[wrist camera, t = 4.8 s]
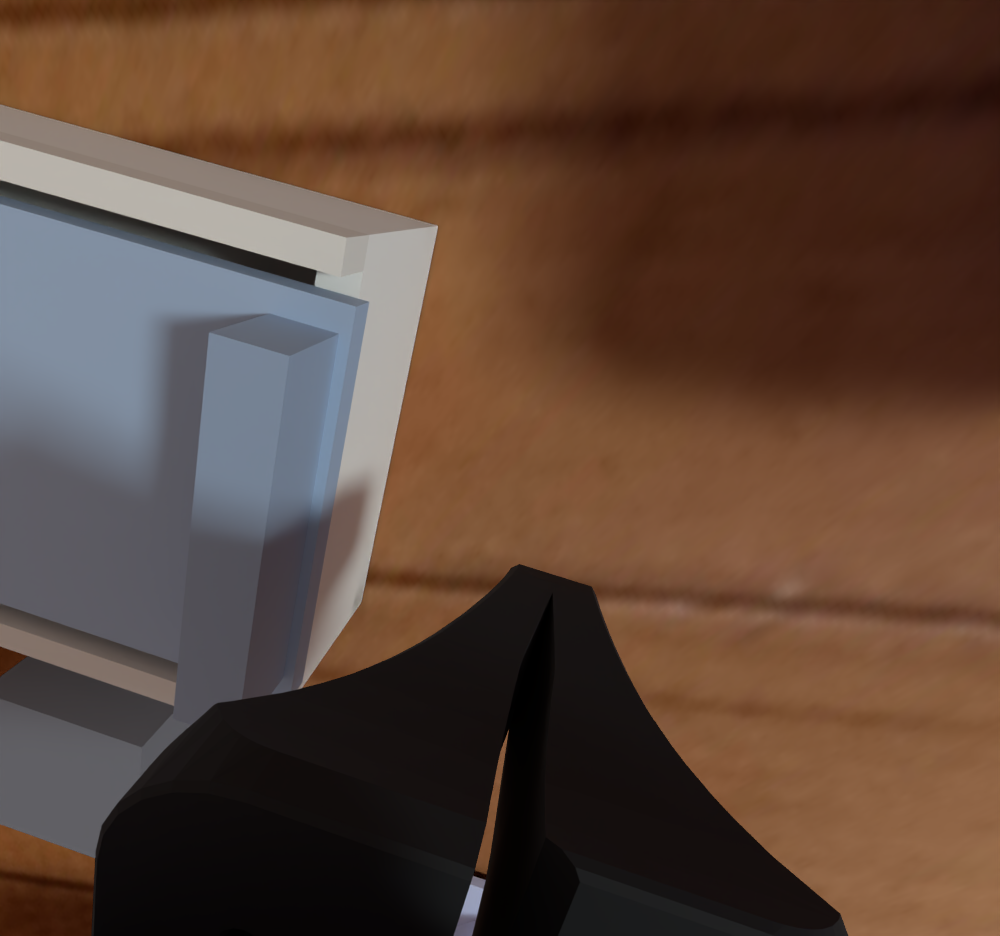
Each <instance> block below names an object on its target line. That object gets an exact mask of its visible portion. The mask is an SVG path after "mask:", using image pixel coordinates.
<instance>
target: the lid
mask: <svg viewBox="0 0 1000 936" xmlns="http://www.w3.org/2000/svg"><path fill="white" fill-rule="evenodd" d="M368 307H369V302H368V301H365V300H361V299H358V298H354V297H351V296H347V295H344V294H341V293H337V292H334V291H330V290H327V289H323V288H320V287H316V286H313V285H309V284H306V283H302V282H299V281H295V280H292V279H288V278H285V277H281V276H278V275H274V274H271V273H268V272H264V271H261V270H257V269H254V268H250V267H247V266H243V265H240V264H236V263H233V262H229V261H226V260H222V259H219V258H215V257H212V256H208V255H205V254H202V253H198V252H195V251H191V250H188V249H184V248H181V247H177V246H174V245H170V244H167V243H163V242H160V241H156V240H153V239H149V238H146V237H142V236H139V235H135V234H132V233H129V232H125V231H122V230H118V229H115V228H111V227H108V226H104V225H101V224H97V223H94V222H90V221H87V220H83V219H80V218H76V217H73V216H69V215H66V214H62V213H59V212H56V211H52V210H49V209H45V208H42V207H38V206H35V205H31V204H28V203H24V202H21V201H17V200H14V199H10V198H7V197H3V196H0V604H3V605H6V606H9V607H12V608H15V609H18V610H21V611H24V612H27V613H30V614H33V615H36V616H39V617H42V618H45V619H48V620H51V621H54V622H57V623H60V624H63V625H66V626H68V627H71V628H74V629H77V630H80V631H83V632H86V633H89V634H92V635H95V636H98V637H101V638H104V639H107V640H110V641H113V642H116V643H119V644H122V645H125V646H128V647H131V648H134V649H137V650H140V651H143V652H146V653H149V654H152V655H155V656H158V657H161V658H164V659H167V660H170V661H173V662H175V663H178V668H177V679H176V690H175V700H174V711H173V719H175V720H178V721H181V722H184V723H187V724H190V725H192V724H193V723H194V722H195V721H196V720H198V719H199V718H200V717H201V716H202V715H203V714H204V713H205V712H206V711H208V710H209V709H210V708H211V707H212V706H213V705H214V704H216V703H220V702H228V701H235V700H241V699H247V698H253V697H259V696H266V695H272V694H278V693H283V692H288V691H292V690H297V689H298V688H299V686H300V685H301V684H302V681H303V676H304V670H305V664H306V659H307V653H308V647H309V642H310V636H311V630H312V625H313V619H314V613H315V608H316V602H317V596H318V591H319V585H320V579H321V573H322V568H323V562H324V556H325V551H326V545H327V539H328V534H329V528H330V522H331V517H332V511H333V505H334V500H335V494H336V488H337V483H338V477H339V471H340V466H341V460H342V454H343V449H344V443H345V437H346V432H347V426H348V420H349V415H350V409H351V403H352V397H353V392H354V386H355V380H356V375H357V369H358V363H359V358H360V352H361V346H362V341H363V335H364V329H365V324H366V318H367V312H368Z"/></svg>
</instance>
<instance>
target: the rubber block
mask: <svg viewBox="0 0 1000 936" xmlns="http://www.w3.org/2000/svg"><path fill="white" fill-rule="evenodd" d="M173 711H174V706H173V705H170V704H167V703H164V702H161V701H158V700H155V699H152V698H150V697H147V696H144V695H141V694H138V693H135V692H132V691H129V690H126V689H123V688H120V687H117V686H114V685H111V684H109V683H106V682H103V681H100V680H97V679H94V678H91V677H88V676H85V675H82V674H79V673H76V672H73V671H70V670H68V669H65V668H62V667H59V666H56V665H53V664H50V663H47V662H44V661H41V660H38V659H35V658H32V657H30V656H27V657H26V658H25V659H23V660H22V661H21V662H19V663H18V664H17V665H15V666H14V667H13V668H11V669H10V670H9V671H7V672H6V673H5V674H3V675H2V676H1V677H0V824H1V825H4V826H7V827H10V828H12V829H15V830H18V831H21V832H24V833H26V834H29V835H32V836H35V837H38V838H40V839H43V840H46V841H49V842H51V843H54V844H57V845H60V846H63V847H65V848H68V849H71V850H74V851H76V852H79V853H82V854H85V855H88V856H90V857H93V858H95V853H96V847H97V843H98V839H99V834H100V830H101V826H102V824H103V823H104V821H105V820H106V818H107V817H108V816H109V814H110V813H111V811H112V810H113V809H114V807H115V806H116V804H117V803H118V802H119V801H120V800H121V799H122V797H123V796H124V795H125V794H126V793H127V792H128V790H129V789H130V788H131V787H132V786H133V785H134V783H135V782H136V781H137V780H138V779H139V778H140V776H141V775H142V774H143V773H144V772H145V771H146V770H147V768H148V767H149V766H150V765H151V764H152V763H153V762H154V760H155V759H156V758H157V757H158V756H159V755H160V754H161V753H162V752H163V751H164V750H165V749H166V748H167V747H168V746H169V745H170V744H171V743H172V742H173V741H174V740H175V739H176V738H177V737H178V736H179V735H181V734H182V733H183V732H184V731H185V730H186V729H187V728H188V727H190V726H191V725H190V724H187V723H184V722H181V721H178V720H175V719H173Z"/></svg>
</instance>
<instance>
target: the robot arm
mask: <svg viewBox="0 0 1000 936" xmlns="http://www.w3.org/2000/svg"><path fill="white" fill-rule="evenodd" d="M508 730H509V733H508V740H507V746H506V753H505V760H504V766H503V773H502V780H501V787H500V794H499V800H498V807H497V814H496V821H495V828H494V835H493V841H492V848H491V854H490V860H489V865H488V870H487V875H486V880H484V879H481V878H478V877H475V876H473V874H474V871H475V867H476V863H477V859H478V855H479V851H480V847H481V843H482V839H483V835H484V831H485V827H486V823H487V817H488V811H489V805H490V800H491V795H492V790H493V785H494V779H495V774H496V769H497V764H498V760H499V755H500V751H501V748H502V746H503V743H504V740H505V738H506V735H507V732H508ZM92 936H848V934H847V931H846V928H845V926H844V923H843V920H842V917H841V915H840V913H839V912H838V911H836V910H835V909H834V908H833V907H832V906H830V905H829V904H828V903H827V902H826V901H825V900H823V899H822V898H821V897H820V896H819V895H817V894H816V893H815V892H814V891H813V890H812V889H810V888H809V887H808V886H807V885H806V884H804V883H803V882H802V881H801V880H800V879H799V878H797V877H796V876H795V875H794V874H793V873H791V872H790V871H789V870H788V869H787V868H786V867H784V866H783V865H782V864H781V863H780V862H778V861H777V860H776V859H775V858H774V857H773V856H772V855H771V854H770V853H768V852H767V851H766V850H765V849H764V848H763V847H762V846H761V845H760V844H759V843H758V842H757V841H756V840H755V839H754V838H753V837H752V836H751V835H750V834H749V833H748V832H747V831H746V830H745V829H744V828H743V827H742V826H741V825H740V824H739V823H738V822H737V821H736V820H735V819H734V818H733V817H732V816H731V815H730V814H729V813H728V812H727V811H726V810H725V809H724V808H723V807H722V805H721V804H720V803H719V802H718V801H717V800H716V799H715V798H714V797H713V796H712V795H711V793H710V792H709V791H708V790H707V789H706V788H705V786H704V785H703V784H702V783H701V782H700V780H699V779H698V778H697V777H696V776H695V775H694V773H693V772H692V771H691V770H690V769H689V767H688V766H687V765H686V764H685V762H684V761H683V760H682V759H681V757H680V756H679V755H678V753H677V752H676V751H675V750H674V748H673V747H672V745H671V744H670V743H669V741H668V740H667V738H666V737H665V735H664V734H663V732H662V731H661V730H660V728H659V727H658V725H657V724H656V722H655V721H654V720H653V718H652V717H651V715H650V713H649V712H648V710H647V709H646V707H645V705H644V704H643V702H642V700H641V698H640V696H639V695H638V693H637V691H636V689H635V687H634V686H633V684H632V682H631V680H630V678H629V676H628V674H627V672H626V670H625V668H624V665H623V663H622V661H621V659H620V657H619V654H618V652H617V650H616V648H615V646H614V643H613V641H612V639H611V636H610V634H609V631H608V629H607V626H606V623H605V621H604V618H603V615H602V613H601V610H600V607H599V604H598V601H597V597H596V594H595V592H594V591H593V589H592V587H591V586H588V585H585V584H581V583H578V582H575V581H572V580H569V579H565V578H562V577H559V576H556V575H553V574H549V573H546V572H543V571H540V570H537V569H533V568H530V567H527V566H524V565H521V564H519V565H517V566H514V567H512V568H511V569H510V570H509V572H508V573H507V574H506V576H505V577H504V578H503V579H502V580H501V581H500V582H499V583H498V584H497V585H496V586H495V587H494V588H493V589H492V590H491V591H490V592H489V593H488V594H487V595H486V596H484V597H483V598H482V599H481V600H480V601H478V602H477V603H476V604H475V605H473V606H472V607H471V608H470V609H469V610H467V611H466V612H465V613H464V614H462V615H461V616H460V617H458V618H457V619H455V620H454V621H452V622H451V623H449V624H448V625H447V626H445V627H444V628H442V629H441V630H439V631H438V632H436V633H435V634H433V635H432V636H430V637H428V638H427V639H425V640H423V641H422V642H420V643H418V644H416V645H415V646H413V647H411V648H409V649H407V650H405V651H403V652H401V653H400V654H398V655H396V656H394V657H392V658H389V659H387V660H385V661H382V662H380V663H378V664H376V665H373V666H371V667H368V668H366V669H363V670H361V671H358V672H356V673H353V674H350V675H347V676H344V677H341V678H338V679H334V680H331V681H328V682H324V683H321V684H317V685H313V686H309V687H305V688H301V689H297V690H292V691H288V692H283V693H278V694H272V695H266V696H259V697H253V698H247V699H241V700H235V701H228V702H220V703H216V704H214V705H213V706H212V707H211V708H210V709H209V710H208V711H206V712H205V713H204V714H203V715H202V716H201V717H200V718H199V719H198V720H196V721H195V722H194V723H193V724H192V725H191V726H190V727H188V728H187V729H186V730H185V731H184V732H183V733H182V734H181V735H179V736H178V737H177V738H176V739H175V740H174V741H173V742H172V743H171V744H170V745H169V746H168V747H167V748H166V749H165V750H164V751H163V752H162V753H161V754H160V755H159V756H158V757H157V758H156V759H155V760H154V762H153V763H152V764H151V765H150V766H149V767H148V768H147V770H146V771H145V772H144V773H143V774H142V775H141V776H140V778H139V779H138V780H137V781H136V782H135V783H134V785H133V786H132V787H131V788H130V789H129V790H128V792H127V793H126V794H125V795H124V796H123V797H122V799H121V800H120V801H119V802H118V803H117V804H116V806H115V807H114V809H113V810H112V811H111V813H110V814H109V816H108V817H107V818H106V820H105V821H104V823H103V824H102V826H101V830H100V834H99V839H98V843H97V847H96V853H95V874H94V894H93V915H92Z"/></svg>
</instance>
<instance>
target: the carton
mask: <svg viewBox="0 0 1000 936" xmlns="http://www.w3.org/2000/svg"><path fill="white" fill-rule="evenodd" d="M0 196H3V197H7V198H10V199H14V200H17V201H21V202H24V203H28V204H31V205H35V206H38V207H42V208H45V209H49V210H52V211H56V212H59V213H62V214H66V215H69V216H73V217H76V218H80V219H83V220H87V221H90V222H94V223H97V224H101V225H104V226H108V227H111V228H115V229H118V230H122V231H125V232H129V233H132V234H135V235H139V236H142V237H146V238H149V239H153V240H156V241H160V242H163V243H167V244H170V245H174V246H177V247H181V248H184V249H188V250H191V251H195V252H198V253H202V254H205V255H208V256H212V257H215V258H219V259H222V260H226V261H229V262H233V263H236V264H240V265H243V266H247V267H250V268H254V269H257V270H261V271H264V272H268V273H271V274H274V275H278V276H281V277H285V278H288V279H292V280H295V281H299V282H302V283H306V284H309V285H313V286H316V287H320V288H323V289H327V290H330V291H334V292H337V293H341V294H344V295H347V296H351V297H354V298H358V299H361V300H365V301H368V302H369V307H368V312H367V318H366V324H365V329H364V335H363V341H362V346H361V352H360V358H359V363H358V369H357V375H356V380H355V386H354V392H353V397H352V403H351V409H350V415H349V420H348V426H347V432H346V437H345V443H344V449H343V454H342V460H341V466H340V471H339V477H338V483H337V488H336V494H335V500H334V505H333V511H332V517H331V522H330V528H329V534H328V539H327V545H326V551H325V556H324V562H323V568H322V573H321V579H320V585H319V591H318V596H317V602H316V608H315V613H314V619H313V625H312V630H311V636H310V642H309V647H308V653H307V659H306V664H305V670H304V676H303V681H302V684H301V685H300V686H299V688H298V689H301V688H302V687H303V686H304V684H305V683H306V681H307V680H308V678H309V677H310V676H311V674H312V673H313V671H314V670H315V668H316V667H317V665H318V664H319V663H320V661H321V660H322V658H323V657H324V655H325V654H326V653H327V651H328V650H329V648H330V647H331V645H332V644H333V642H334V641H335V640H336V638H337V637H338V635H339V634H340V632H341V631H342V630H343V628H344V627H345V625H346V624H347V622H348V621H349V619H350V618H351V617H352V615H353V614H354V612H355V611H356V609H357V608H358V607H359V605H360V604H361V602H362V597H363V592H364V587H365V582H366V577H367V573H368V568H369V563H370V558H371V553H372V548H373V543H374V538H375V533H376V528H377V524H378V519H379V514H380V509H381V504H382V499H383V494H384V489H385V484H386V479H387V475H388V470H389V465H390V460H391V455H392V450H393V445H394V440H395V435H396V430H397V426H398V421H399V416H400V411H401V406H402V401H403V396H404V391H405V386H406V381H407V376H408V372H409V367H410V362H411V357H412V352H413V347H414V342H415V337H416V332H417V327H418V323H419V318H420V313H421V308H422V303H423V298H424V293H425V288H426V283H427V278H428V274H429V269H430V264H431V259H432V254H433V249H434V244H435V239H436V234H437V229H438V226H437V225H433V224H430V223H426V222H423V221H419V220H415V219H412V218H408V217H405V216H401V215H397V214H394V213H390V212H387V211H383V210H379V209H376V208H372V207H368V206H365V205H361V204H358V203H354V202H350V201H347V200H343V199H340V198H336V197H332V196H329V195H325V194H322V193H318V192H314V191H311V190H307V189H303V188H300V187H296V186H293V185H289V184H285V183H282V182H278V181H275V180H271V179H267V178H264V177H260V176H256V175H253V174H249V173H246V172H242V171H238V170H235V169H231V168H228V167H224V166H220V165H217V164H213V163H210V162H206V161H202V160H199V159H195V158H191V157H188V156H184V155H181V154H177V153H173V152H170V151H166V150H163V149H159V148H155V147H152V146H148V145H145V144H141V143H137V142H134V141H130V140H126V139H123V138H119V137H116V136H112V135H108V134H105V133H101V132H98V131H94V130H90V129H87V128H83V127H79V126H76V125H72V124H69V123H65V122H61V121H58V120H54V119H51V118H47V117H43V116H40V115H36V114H33V113H29V112H25V111H22V110H18V109H14V108H11V107H7V106H4V105H0ZM0 647H3V648H6V649H9V650H12V651H15V652H18V653H21V654H24V655H27V656H30V657H32V658H35V659H38V660H41V661H44V662H47V663H50V664H53V665H56V666H59V667H62V668H65V669H68V670H70V671H73V672H76V673H79V674H82V675H85V676H88V677H91V678H94V679H97V680H100V681H103V682H106V683H109V684H111V685H114V686H117V687H120V688H123V689H126V690H129V691H132V692H135V693H138V694H141V695H144V696H147V697H150V698H152V699H155V700H158V701H161V702H164V703H167V704H170V705H173V706H174V700H175V690H176V679H177V668H178V663H175V662H173V661H170V660H167V659H164V658H161V657H158V656H155V655H152V654H149V653H146V652H143V651H140V650H137V649H134V648H131V647H128V646H125V645H122V644H119V643H116V642H113V641H110V640H107V639H104V638H101V637H98V636H95V635H92V634H89V633H86V632H83V631H80V630H77V629H74V628H71V627H68V626H66V625H63V624H60V623H57V622H54V621H51V620H48V619H45V618H42V617H39V616H36V615H33V614H30V613H27V612H24V611H21V610H18V609H15V608H12V607H9V606H6V605H3V604H0Z"/></svg>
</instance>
